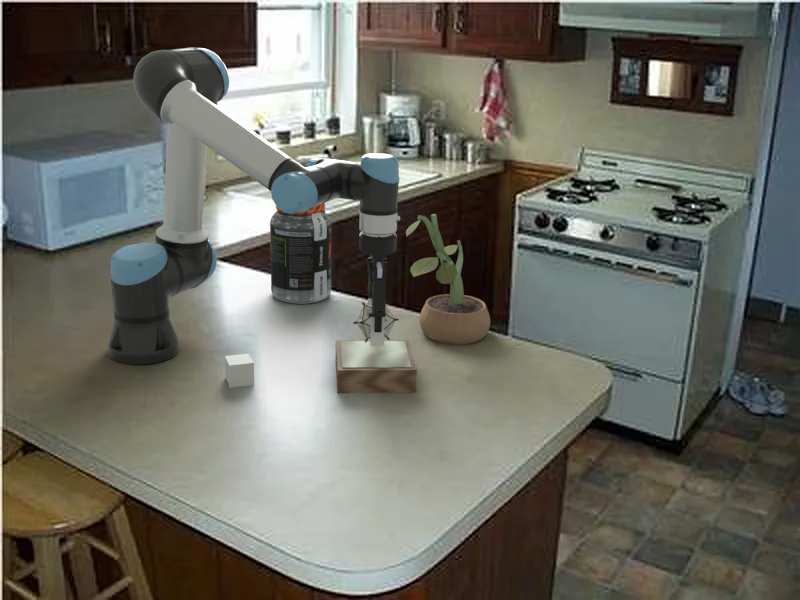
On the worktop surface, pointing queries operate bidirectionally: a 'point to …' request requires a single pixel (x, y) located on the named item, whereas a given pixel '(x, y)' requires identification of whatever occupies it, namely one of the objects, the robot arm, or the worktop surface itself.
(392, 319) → the game die
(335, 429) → the worktop surface
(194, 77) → the robot arm
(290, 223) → the supplement tub
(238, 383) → the grey block
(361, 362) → the walnut framed mirror
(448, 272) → the potted plant
